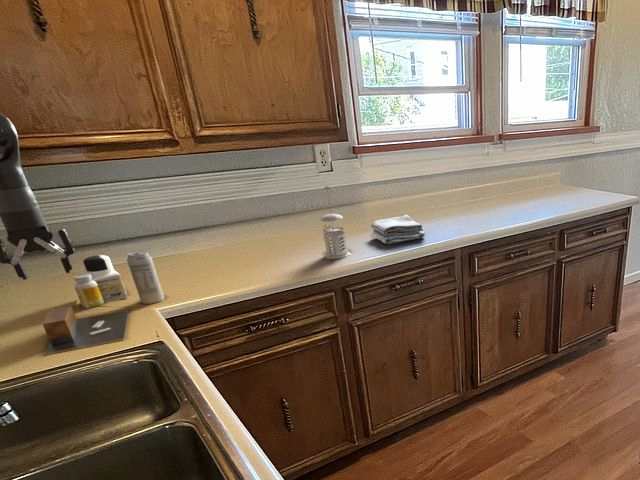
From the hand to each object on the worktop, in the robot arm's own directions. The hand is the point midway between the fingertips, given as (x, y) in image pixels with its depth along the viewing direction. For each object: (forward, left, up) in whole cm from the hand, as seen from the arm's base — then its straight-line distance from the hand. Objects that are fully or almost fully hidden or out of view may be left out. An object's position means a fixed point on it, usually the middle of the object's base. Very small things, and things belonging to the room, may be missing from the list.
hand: (47, 275), depth 126 cm
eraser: (-1, -1, -15) cm, 15 cm away
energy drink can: (+18, +16, -16) cm, 29 cm away
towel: (+107, +47, -16) cm, 118 cm away
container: (+7, +27, -16) cm, 32 cm away
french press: (+78, +36, -16) cm, 87 cm away
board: (+4, -1, -16) cm, 16 cm away
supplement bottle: (+3, +21, -16) cm, 27 cm away
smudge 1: (+6, +2, -15) cm, 16 cm away
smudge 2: (+7, -4, -15) cm, 17 cm away
